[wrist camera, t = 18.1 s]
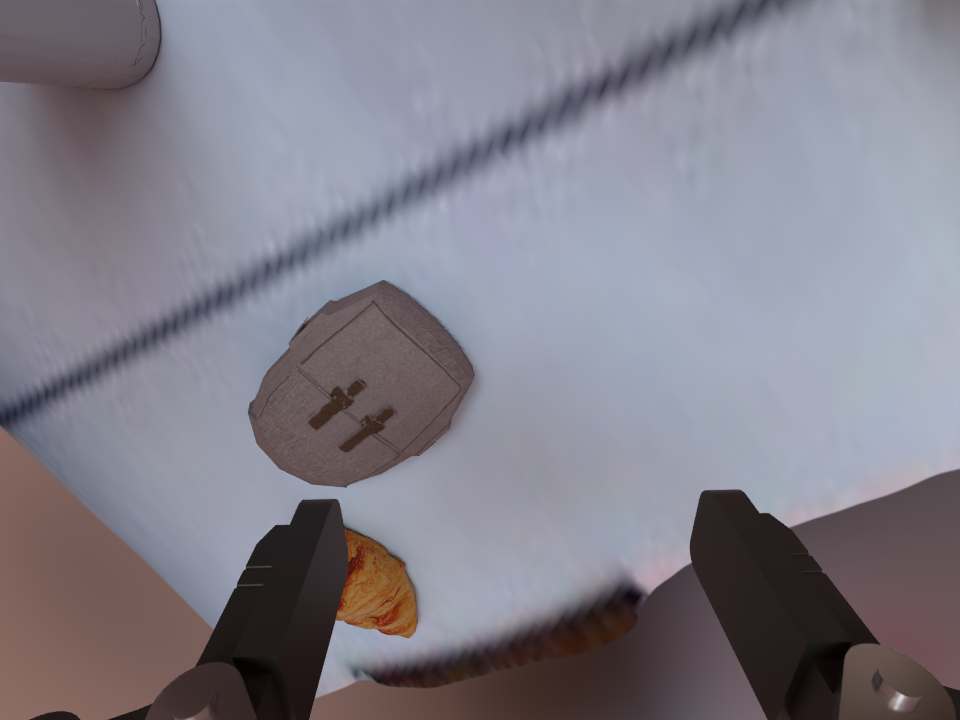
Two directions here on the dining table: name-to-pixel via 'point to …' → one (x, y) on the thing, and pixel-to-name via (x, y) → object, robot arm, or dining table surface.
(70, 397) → the dining table surface
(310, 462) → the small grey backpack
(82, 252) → the dining table surface
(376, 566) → the croissant
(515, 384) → the dining table surface
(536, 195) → the dining table surface
